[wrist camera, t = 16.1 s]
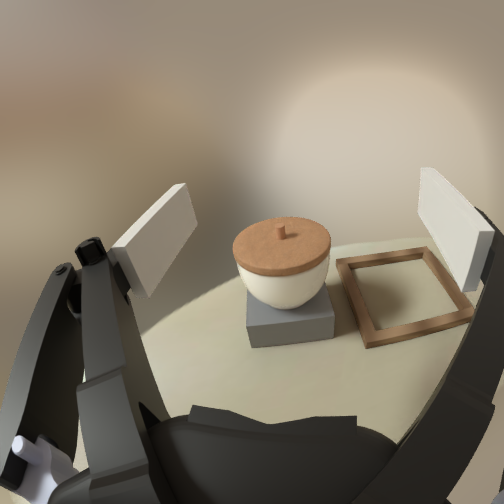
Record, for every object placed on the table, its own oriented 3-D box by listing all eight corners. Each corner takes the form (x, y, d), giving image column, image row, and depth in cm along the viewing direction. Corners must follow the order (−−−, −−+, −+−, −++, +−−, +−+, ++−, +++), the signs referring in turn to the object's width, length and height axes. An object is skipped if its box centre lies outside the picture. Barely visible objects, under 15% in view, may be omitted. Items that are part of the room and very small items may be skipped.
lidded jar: (343, 278, 35) (344, 212, 30) (304, 337, 29) (301, 265, 24) (273, 259, 41) (265, 199, 36) (226, 305, 35) (208, 240, 30)
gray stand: (319, 286, 41) (319, 264, 39) (333, 338, 33) (335, 315, 30) (252, 294, 42) (247, 273, 40) (251, 347, 33) (246, 326, 31)
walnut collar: (425, 252, 43) (426, 246, 42) (474, 320, 29) (477, 314, 28) (335, 265, 44) (335, 259, 44) (365, 348, 30) (367, 342, 30)
